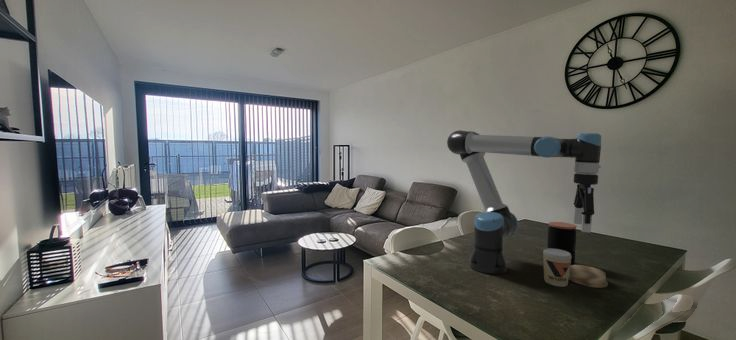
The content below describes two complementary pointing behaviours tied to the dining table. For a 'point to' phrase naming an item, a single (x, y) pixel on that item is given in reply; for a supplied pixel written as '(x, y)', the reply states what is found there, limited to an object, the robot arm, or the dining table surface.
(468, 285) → the dining table surface
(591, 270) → the pedestal
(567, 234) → the coffee jar
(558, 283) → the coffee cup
